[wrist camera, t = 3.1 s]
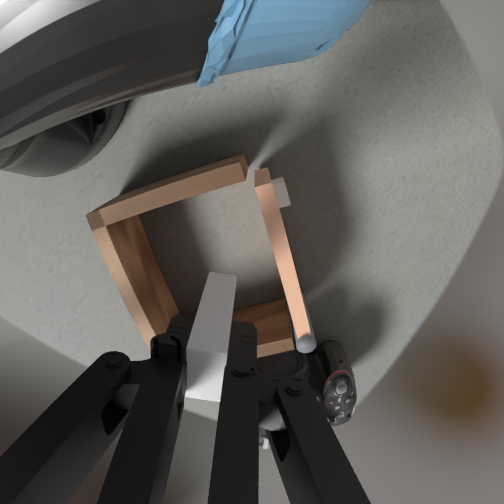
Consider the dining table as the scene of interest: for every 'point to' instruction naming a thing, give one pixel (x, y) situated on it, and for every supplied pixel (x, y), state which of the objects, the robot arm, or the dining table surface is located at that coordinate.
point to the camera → (316, 379)
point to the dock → (146, 266)
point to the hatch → (284, 255)
